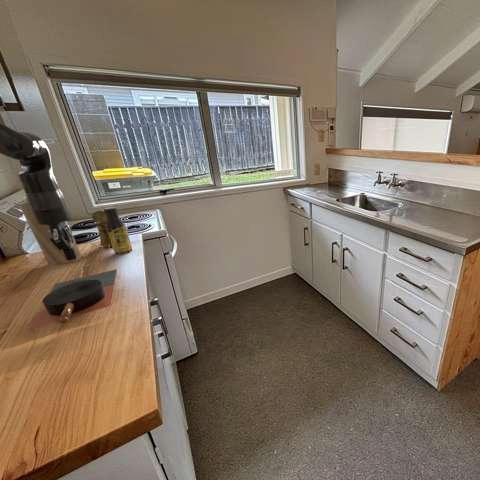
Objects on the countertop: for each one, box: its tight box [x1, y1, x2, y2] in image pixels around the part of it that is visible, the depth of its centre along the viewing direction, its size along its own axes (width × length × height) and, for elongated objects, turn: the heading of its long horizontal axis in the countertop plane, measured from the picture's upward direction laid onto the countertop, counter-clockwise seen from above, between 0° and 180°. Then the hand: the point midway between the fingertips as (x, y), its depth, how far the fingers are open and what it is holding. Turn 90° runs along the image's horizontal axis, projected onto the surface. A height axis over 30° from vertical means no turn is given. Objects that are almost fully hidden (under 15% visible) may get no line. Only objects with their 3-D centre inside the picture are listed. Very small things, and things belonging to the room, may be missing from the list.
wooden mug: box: [91, 210, 112, 248], centre depth 115 cm, size 9×14×18 cm, turn 35°
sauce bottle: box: [103, 206, 133, 256], centre depth 106 cm, size 7×6×20 cm
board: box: [28, 268, 118, 330], centre depth 80 cm, size 17×27×1 cm, turn 33°
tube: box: [18, 200, 83, 267], centre depth 100 cm, size 10×10×25 cm
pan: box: [42, 280, 106, 325], centre depth 72 cm, size 13×21×4 cm, turn 33°
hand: (72, 259), depth 81 cm, fingers closed
